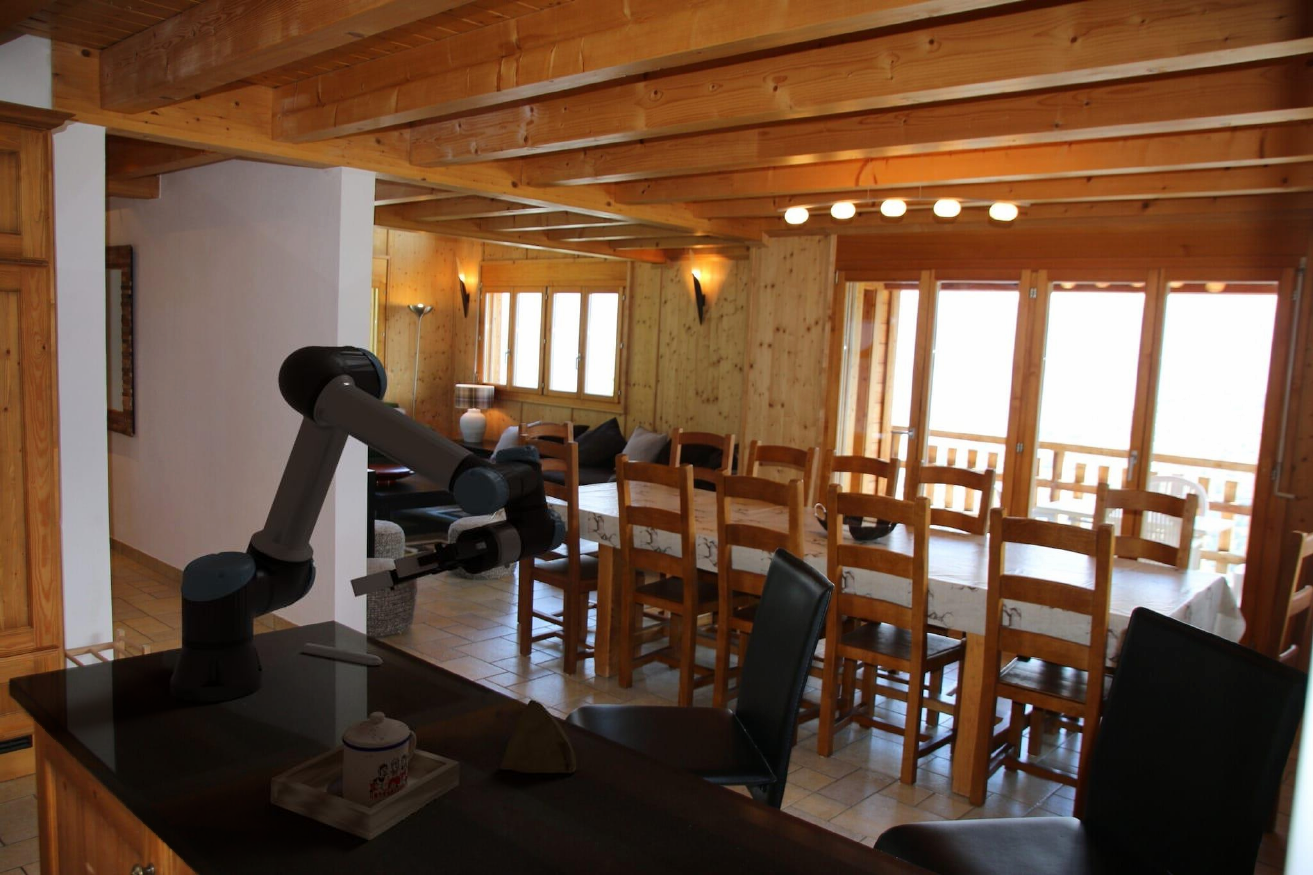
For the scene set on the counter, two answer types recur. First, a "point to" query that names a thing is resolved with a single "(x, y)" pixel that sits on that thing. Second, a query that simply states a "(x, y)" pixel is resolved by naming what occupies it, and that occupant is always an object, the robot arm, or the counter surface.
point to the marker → (342, 654)
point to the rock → (539, 744)
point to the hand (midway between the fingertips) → (374, 578)
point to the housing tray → (321, 799)
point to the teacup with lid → (376, 759)
